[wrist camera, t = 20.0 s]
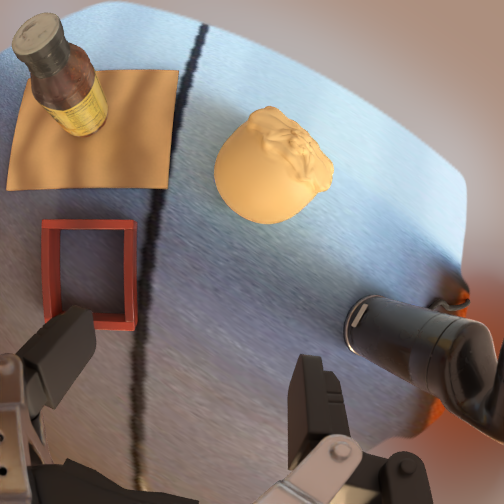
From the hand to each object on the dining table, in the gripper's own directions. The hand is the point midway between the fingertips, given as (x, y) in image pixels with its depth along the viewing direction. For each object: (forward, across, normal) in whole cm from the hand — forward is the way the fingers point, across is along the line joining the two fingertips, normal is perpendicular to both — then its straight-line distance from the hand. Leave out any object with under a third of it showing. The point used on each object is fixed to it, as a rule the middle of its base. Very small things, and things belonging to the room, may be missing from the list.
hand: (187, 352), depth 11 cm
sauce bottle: (+26, +21, -8) cm, 35 cm away
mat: (+26, +21, -7) cm, 35 cm away
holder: (+21, +17, +10) cm, 29 cm away
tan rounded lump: (+31, 0, -2) cm, 31 cm away
